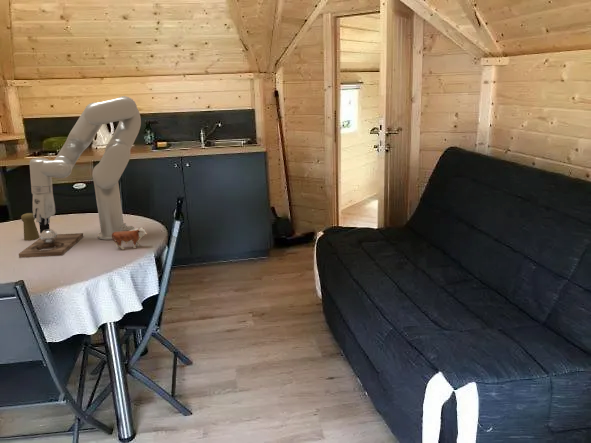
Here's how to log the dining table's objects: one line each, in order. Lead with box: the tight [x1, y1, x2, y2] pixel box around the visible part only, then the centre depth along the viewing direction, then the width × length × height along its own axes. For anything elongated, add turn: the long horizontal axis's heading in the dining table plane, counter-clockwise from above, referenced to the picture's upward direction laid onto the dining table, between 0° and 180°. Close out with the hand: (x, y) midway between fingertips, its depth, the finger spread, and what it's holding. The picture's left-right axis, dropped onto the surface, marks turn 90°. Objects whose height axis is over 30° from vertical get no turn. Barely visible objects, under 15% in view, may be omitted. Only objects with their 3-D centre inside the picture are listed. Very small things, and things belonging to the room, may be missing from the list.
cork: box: [20, 212, 41, 241], centre depth 209 cm, size 6×6×11 cm
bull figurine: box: [111, 227, 148, 251], centre depth 193 cm, size 4×13×8 cm, turn 98°
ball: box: [39, 228, 58, 244], centre depth 198 cm, size 6×6×6 cm
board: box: [18, 232, 84, 258], centre depth 199 cm, size 24×16×2 cm, turn 4°
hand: (45, 233), depth 200 cm, fingers closed
